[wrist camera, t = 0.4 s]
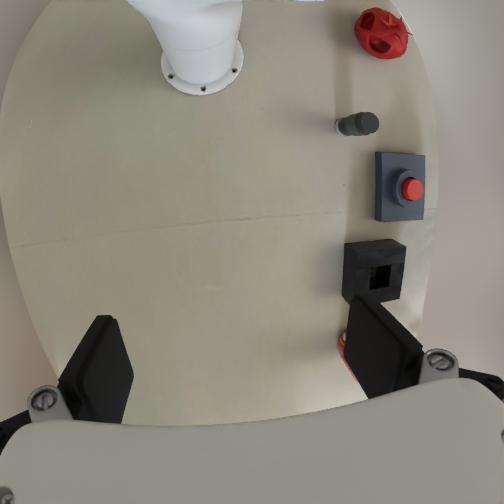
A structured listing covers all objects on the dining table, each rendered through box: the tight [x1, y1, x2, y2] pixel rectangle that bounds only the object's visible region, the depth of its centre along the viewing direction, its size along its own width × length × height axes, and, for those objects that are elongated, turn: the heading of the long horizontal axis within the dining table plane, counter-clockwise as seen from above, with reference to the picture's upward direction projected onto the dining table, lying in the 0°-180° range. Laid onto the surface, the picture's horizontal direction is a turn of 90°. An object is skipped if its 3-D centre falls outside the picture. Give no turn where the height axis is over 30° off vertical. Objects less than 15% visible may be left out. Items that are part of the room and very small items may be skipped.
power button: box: [402, 178, 423, 201], centre depth 42 cm, size 4×4×2 cm
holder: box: [342, 239, 406, 305], centre depth 49 cm, size 10×10×5 cm
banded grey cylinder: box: [335, 112, 379, 136], centre depth 38 cm, size 3×3×9 cm
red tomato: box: [354, 8, 412, 59], centre depth 33 cm, size 10×10×9 cm
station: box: [375, 152, 425, 222], centre depth 45 cm, size 12×10×4 cm
